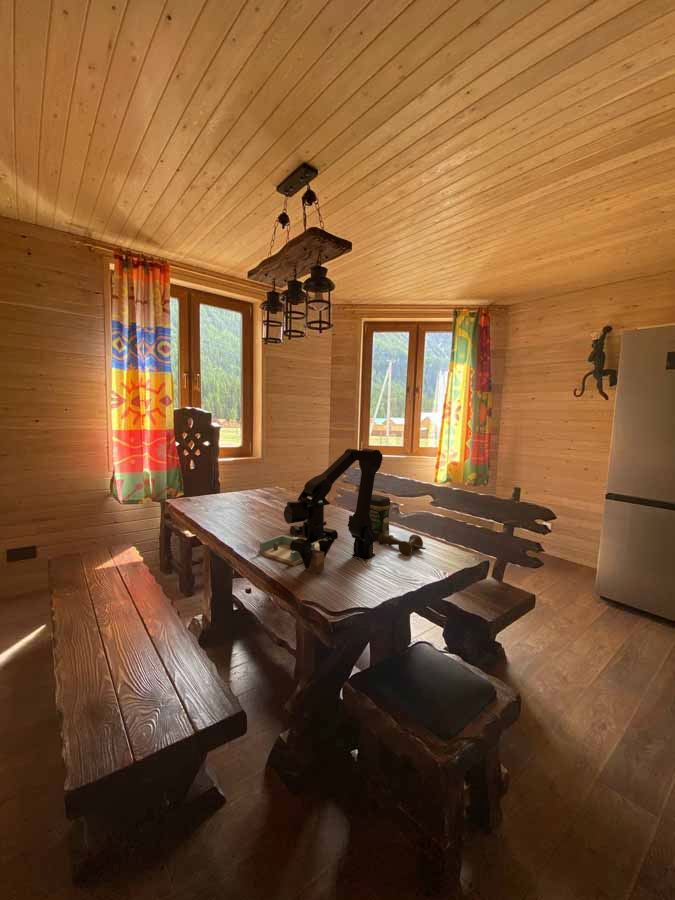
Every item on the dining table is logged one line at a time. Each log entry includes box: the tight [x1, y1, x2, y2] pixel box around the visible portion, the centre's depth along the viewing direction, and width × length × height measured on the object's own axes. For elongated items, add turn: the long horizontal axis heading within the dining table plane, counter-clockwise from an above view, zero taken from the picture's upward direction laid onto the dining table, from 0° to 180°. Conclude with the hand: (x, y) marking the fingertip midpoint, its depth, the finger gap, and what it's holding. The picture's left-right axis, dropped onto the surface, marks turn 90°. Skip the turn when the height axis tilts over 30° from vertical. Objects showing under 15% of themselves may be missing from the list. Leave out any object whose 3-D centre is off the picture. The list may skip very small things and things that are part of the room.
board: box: [258, 536, 320, 567], centre depth 140 cm, size 18×20×4 cm
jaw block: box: [304, 549, 325, 574], centre depth 124 cm, size 5×4×6 cm
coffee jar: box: [369, 493, 391, 542], centre depth 155 cm, size 10×8×19 cm
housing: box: [259, 534, 315, 561], centre depth 137 cm, size 16×12×3 cm
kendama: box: [377, 532, 427, 557], centre depth 144 cm, size 6×10×20 cm
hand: (314, 564), depth 124 cm, fingers open, 8 cm apart
